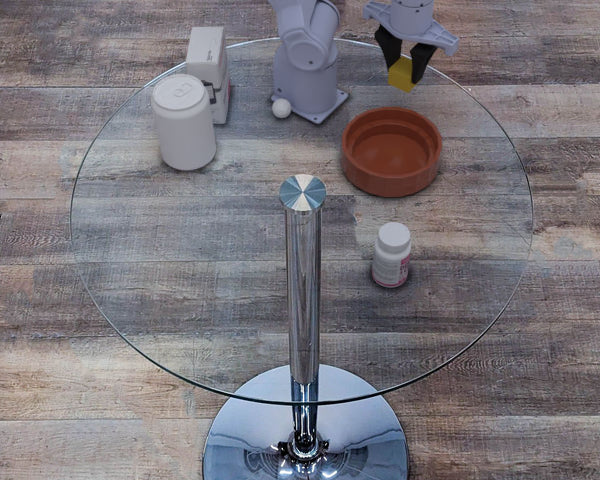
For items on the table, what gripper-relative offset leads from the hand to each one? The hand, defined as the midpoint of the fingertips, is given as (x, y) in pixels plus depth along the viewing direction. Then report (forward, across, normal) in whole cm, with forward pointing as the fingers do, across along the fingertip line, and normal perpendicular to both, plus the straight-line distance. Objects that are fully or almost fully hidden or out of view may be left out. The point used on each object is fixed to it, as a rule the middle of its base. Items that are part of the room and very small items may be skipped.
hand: (405, 74), depth 127 cm
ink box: (+8, +25, +16) cm, 30 cm away
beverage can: (+8, +21, +26) cm, 34 cm away
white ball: (+8, +14, +11) cm, 20 cm away
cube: (+1, 0, 0) cm, 1 cm away
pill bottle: (+8, -16, +27) cm, 32 cm away
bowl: (+7, -4, +10) cm, 13 cm away
